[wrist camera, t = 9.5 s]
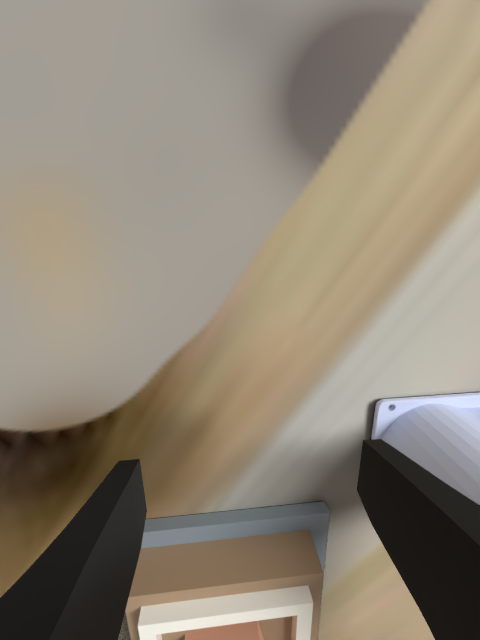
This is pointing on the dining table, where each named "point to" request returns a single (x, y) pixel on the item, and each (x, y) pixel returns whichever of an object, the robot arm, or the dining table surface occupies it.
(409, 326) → the dining table surface
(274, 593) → the build base
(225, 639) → the terracotta cube
